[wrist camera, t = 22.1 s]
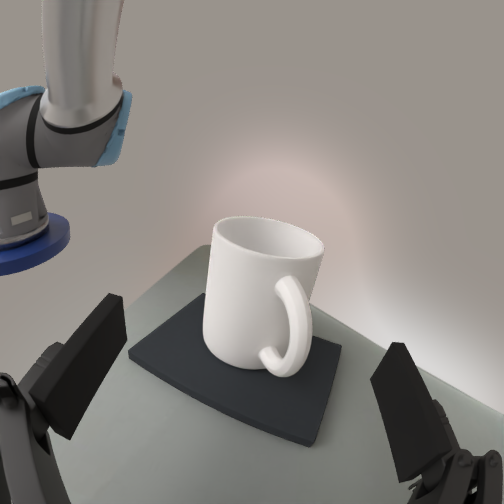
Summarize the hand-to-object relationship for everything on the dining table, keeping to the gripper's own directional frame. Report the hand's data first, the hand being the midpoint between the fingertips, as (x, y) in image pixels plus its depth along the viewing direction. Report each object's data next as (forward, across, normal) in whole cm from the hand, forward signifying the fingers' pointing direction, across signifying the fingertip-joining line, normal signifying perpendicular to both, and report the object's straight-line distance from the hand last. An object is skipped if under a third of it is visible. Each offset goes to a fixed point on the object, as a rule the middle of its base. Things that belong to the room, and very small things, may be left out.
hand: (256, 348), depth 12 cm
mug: (+8, +1, -8) cm, 12 cm away
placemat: (+8, 0, -9) cm, 12 cm away
